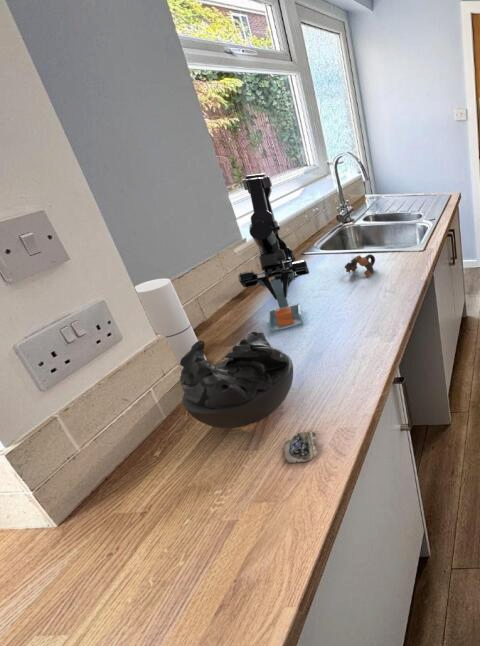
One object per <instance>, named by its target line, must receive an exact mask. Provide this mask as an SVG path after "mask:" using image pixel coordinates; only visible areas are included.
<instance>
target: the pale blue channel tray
mask: <svg viewBox="0 0 480 646" xmlns="http://www.w3.org/2000/svg"><path fill="white" fill-rule="evenodd" d="M270 281H271V284H272V286H273V289H274V292H275V295H276V298H277V300H276V301H277V304H278V308H274V309H270V310H267V319H266V322H267V326H268V329H269V332H270V333H272V332H275V331H279V330H284V329H287V328H291V327H295V326H298V325H302V324H303V325H304V313H303V308H302V305H301V303H294V304H291V305H289V302H288V298H287V297H286V298H285V296H284V291H283V282H282V281H281V280H280V279H278V280H270ZM286 307H290V308H291V311H292V314H293V317H294V324H290V325H286V326H283V327H279V325H278V322H277V319H276V310H278V309H282V308H286Z"/></svg>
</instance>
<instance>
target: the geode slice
mask: <svg viewBox="0 0 480 646" xmlns="http://www.w3.org/2000/svg"><path fill="white" fill-rule="evenodd" d="M316 439H317V437H316V432H314V431H312V430H311V431H306V432H305V431H304V432H302V431H299V432H298V433H297V434H296V435H293V436H292V438H291V439H288V440H287V441H286V440H285V442H284V447H283V452H284V458H285V460H286V461H287V462H288V463H293V464H296V462H297V463H306V462H310V461H312V460H313V459H314V458H315V457H316V456H317V454H318V449H317V446H315V443H316V444H317V442H318V441H317V442H316V441H315V440H316Z"/></svg>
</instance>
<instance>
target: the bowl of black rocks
mask: <svg viewBox="0 0 480 646" xmlns="http://www.w3.org/2000/svg"><path fill="white" fill-rule="evenodd" d="M205 346H206V343H205V340H198V342H196V343H195V344H194V345H193V346H192V347H191V350H190V351H189V352H188V353H186V355H185V356H184V357H182V359H181V361H180V365H181V366H183V369H182V371H181V376H180V379H179V381H180V386H181V388H182V390H183V395H182V406H183V407H184V409H185V410H186V411H187V412H188V414H189V415H190V416H191V417H192V418H194V419H195V420H196V421H198V422H200V423H202V424H204V425H206V426H209V427H213V428H218V429H238V428H239V429H240V428H244V427H249V426H251V425H253V424H256V423H258V422H260V421H262V420H264V419H266V418H267V417H269V416H270V415H272V414H273V413H274V412H275V411H276V410H277V409H278V408H279V407H280V406H281V405H282V404H283V402H284V401H285V399H286V398H287V396H288V394H289V392H290V390H291V388H292V384H293V381H294V365H293V360H292V358H291V357H290V356H289V355H288V354H287V353H285V352H283V351H282V350H280V349H277V348H276V347H275V348H274V347H273V346H271V344H270V343H269V342H268V339H266V336H265V333H264V332H263V331H251V332H250V333H248V334H247V335H245V336H244V337H243V338H242V339H241V340H240V341H239V344H236V345H234V346H233V347H232V348H231V349H232V350H231V351H230V352H228V353H227V354H226V355H224V358H225V360H223V361H221V362H219V363H217V364H214V365H211V364H209V362H208V360H207V358H206V359H205V357H206V356H205V357H204V355H205V353H204V349H205ZM208 364H209V365H208Z"/></svg>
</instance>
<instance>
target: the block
mask: <svg viewBox="0 0 480 646" xmlns="http://www.w3.org/2000/svg"><path fill="white" fill-rule="evenodd" d="M277 309H278V308H277ZM276 319H277V322H278V325H279V327H283V326H286V325H290V324H294V317H293V314H292V311H291V308H290V307H286V308H282V309H278V310H276Z"/></svg>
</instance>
